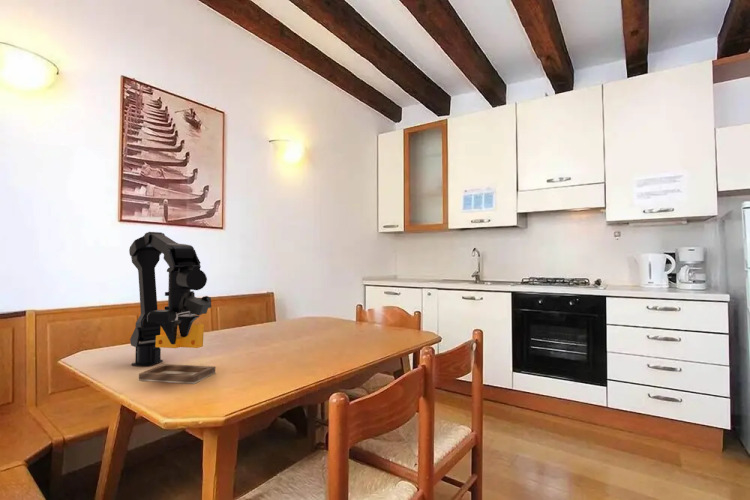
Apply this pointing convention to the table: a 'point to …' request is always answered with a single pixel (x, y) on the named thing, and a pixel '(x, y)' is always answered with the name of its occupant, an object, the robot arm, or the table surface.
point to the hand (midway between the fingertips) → (178, 342)
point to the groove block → (177, 373)
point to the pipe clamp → (183, 339)
